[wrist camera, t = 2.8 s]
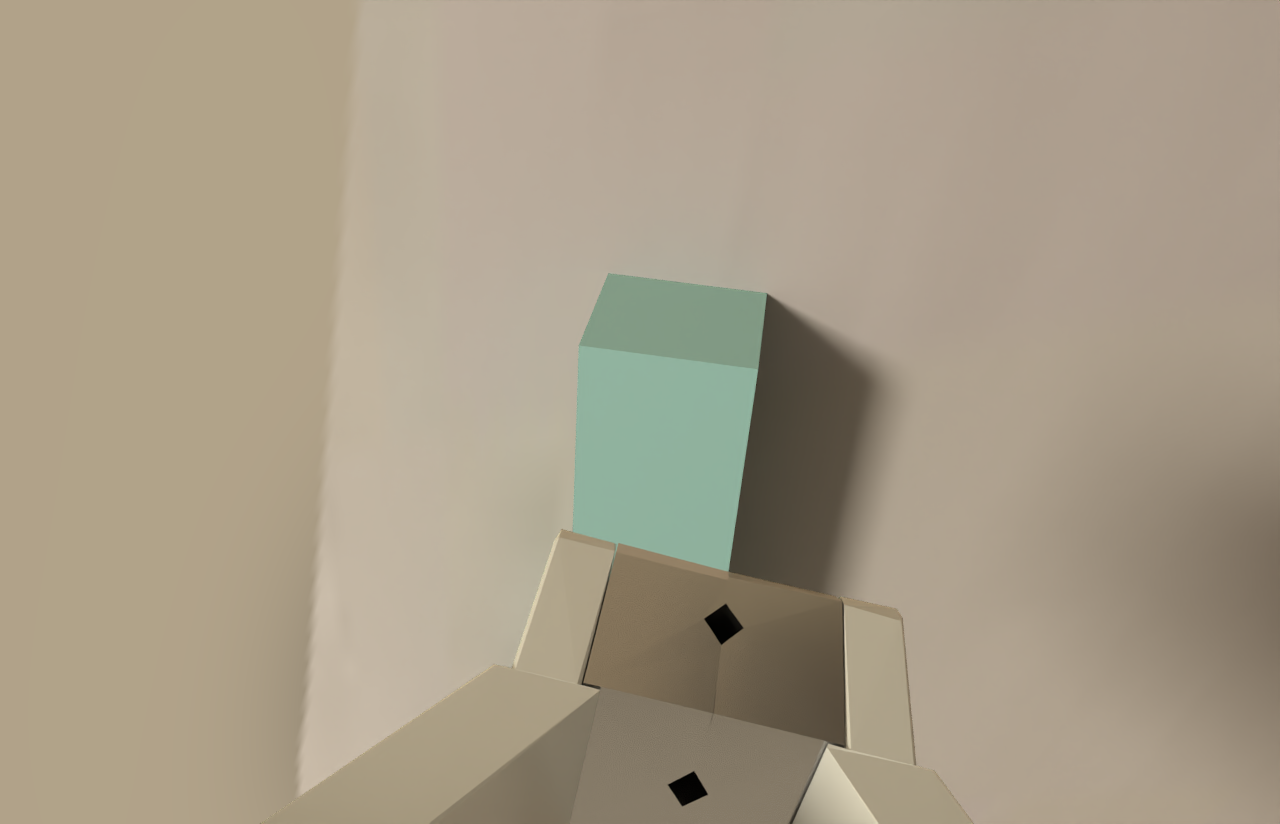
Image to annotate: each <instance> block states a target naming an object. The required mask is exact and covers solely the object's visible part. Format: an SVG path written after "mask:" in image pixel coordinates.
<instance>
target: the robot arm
mask: <svg viewBox="0 0 1280 824" xmlns="http://www.w3.org/2000/svg"><path fill="white" fill-rule="evenodd" d="M616 545H617V544H615V543H612V542H608V541H605V540H601V539H597V538H593V537H589V536H586V535H582V534H578V533H574V532H571V531H567V530H563V529H561V531H560V532H559V534H558V535H557V537H556V539H555V540H554V543H553V546H552V549H551V552H550V555H549V558H548V561H547V564H546V567H545V570H544V573H543V576H542V579H541V582H540V585H539V588H538V591H537V594H536V597H535V600H534V603H533V606H532V609H531V612H530V615H529V618H528V621H527V624H526V627H525V630H524V633H523V636H522V639H521V642H520V645H519V648H518V651H517V654H516V657H515V660H514V663H513V666H512V668H509V667H505V666H500V665H495V664H494V665H492V666H491V667H489V668H488V669H487V670H485V671H484V672H482V673H481V674H479V675H478V676H476V677H475V678H473V679H472V680H470V681H469V682H467V683H466V684H465V685H463V686H462V687H460V688H459V689H457V690H456V691H454V692H453V693H451V694H450V695H448V696H447V697H445V698H444V699H442V700H441V701H440V702H438V703H437V704H435V705H434V706H432V707H431V708H429V709H428V710H426V711H425V712H423V713H422V714H420V715H419V716H418V717H416V718H415V719H413V720H412V721H410V722H409V723H407V724H406V725H404V726H403V727H401V728H400V729H398V730H397V731H396V732H394V733H393V734H391V735H390V736H388V737H387V738H385V739H384V740H382V741H381V742H379V743H378V744H376V745H375V746H373V747H372V748H371V749H369V750H368V751H366V752H365V753H363V754H362V755H360V756H359V757H357V758H356V759H354V760H353V761H351V762H350V763H349V764H347V765H346V766H344V767H343V768H341V769H340V770H338V771H337V772H335V773H334V774H332V775H331V776H329V777H328V778H326V779H325V780H324V781H322V782H321V783H319V784H318V785H316V786H315V787H313V788H312V789H310V790H309V791H307V792H306V793H304V794H303V795H302V796H300V797H299V798H297V799H296V800H294V801H293V802H291V803H290V804H288V805H287V806H285V807H284V808H282V809H281V810H280V811H278V812H277V813H275V814H274V815H272V816H271V817H269V818H268V819H266V820H265V821H263V822H262V823H260V824H974V823H973V822H972V821H971V819H970V818H969V816H968V815H967V814H966V812H965V811H964V810H963V808H962V807H961V806H960V804H959V803H958V802H957V800H956V799H955V798H954V796H953V795H952V794H951V792H950V791H949V790H948V788H947V787H946V785H945V784H944V783H943V781H942V780H941V779H940V777H939V776H938V775H937V773H936V772H935V771H934V770H930V769H927V768H923V767H919V766H916V757H915V746H914V735H913V725H912V714H911V703H910V692H909V682H908V671H907V660H906V649H905V639H904V628H903V618H902V616H901V615H900V613H899V612H898V610H897V609H895V608H891V607H886V606H882V605H877V604H873V603H868V602H863V601H859V600H854V599H850V598H845V597H841V596H840V597H839V598H837V597H836V596H833V595H828V594H824V593H820V592H815V591H811V590H806V589H802V588H798V587H793V586H789V585H785V584H780V583H776V582H772V581H767V580H763V579H759V578H754V577H750V576H746V575H741V574H737V573H733V572H728V571H724V570H720V569H716V568H712V567H708V566H705V565H701V564H697V563H693V562H689V561H685V560H682V559H678V558H674V557H670V556H666V555H663V554H659V553H655V552H651V551H647V550H644V549H640V548H636V547H632V546H628V545H624V544H621V543H618V547H617V550H616ZM615 551H616V554H615ZM614 555H615V558H614ZM613 560H614V562H613ZM612 565H613V566H612Z"/></svg>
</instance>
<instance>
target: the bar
mask: <svg viewBox="0 0 1280 824" xmlns="http://www.w3.org/2000/svg"><path fill="white" fill-rule="evenodd" d="M766 298H767V293H760V292H752V291H744V290H736V289H728V288H720V287H712V286H704V285H697V284H689V283H681V282H673V281H665V280H657V279H649V278H641V277H633V276H625V275H617V274H609V273H608V276H607V278H606V281H605V283H604V286H603V288H602V291H601V293H600V295H599V298H598V300H597V303H596V305H595V308H594V310H593V312H592V315H591V317H590V320H589V322H588V325H587V327H586V329H585V332H584V334H583V337H582V339H581V342H580V344H579V358H578V388H577V419H576V450H575V481H574V511H573V532H574V533H578V534H582V535H586V536H589V537H593V538H597V539H601V540H605V541H608V542H612V543H615V544H617V545H616V550H617V547H618V543H621V544H624V545H628V546H632V547H636V548H640V549H644V550H647V551H651V552H655V553H659V554H663V555H666V556H670V557H674V558H678V559H682V560H685V561H689V562H693V563H697V564H701V565H705V566H708V567H712V568H716V569H720V570H724V571H729V564H730V558H731V551H732V544H733V537H734V530H735V524H736V517H737V510H738V503H739V496H740V490H741V483H742V476H743V469H744V462H745V456H746V449H747V442H748V435H749V428H750V422H751V415H752V408H753V401H754V394H755V388H756V381H757V374H758V367H759V358H760V349H761V341H762V332H763V324H764V315H765V307H766ZM615 554H616V551H615ZM614 558H615V555H614ZM613 562H614V560H613ZM612 566H613V565H612Z"/></svg>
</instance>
